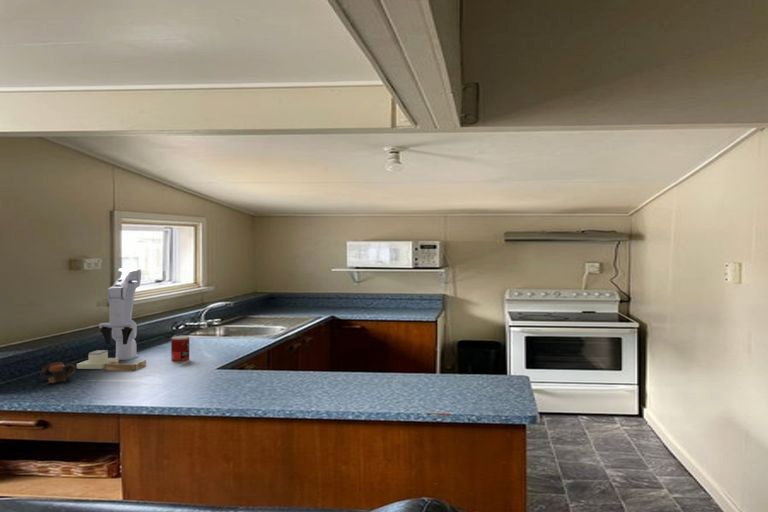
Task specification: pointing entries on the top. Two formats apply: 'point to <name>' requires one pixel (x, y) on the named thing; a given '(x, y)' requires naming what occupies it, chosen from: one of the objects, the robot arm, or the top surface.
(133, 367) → the dock
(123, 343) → the robot arm
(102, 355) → the grey box
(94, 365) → the tray
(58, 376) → the toy turtle
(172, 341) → the canned food
